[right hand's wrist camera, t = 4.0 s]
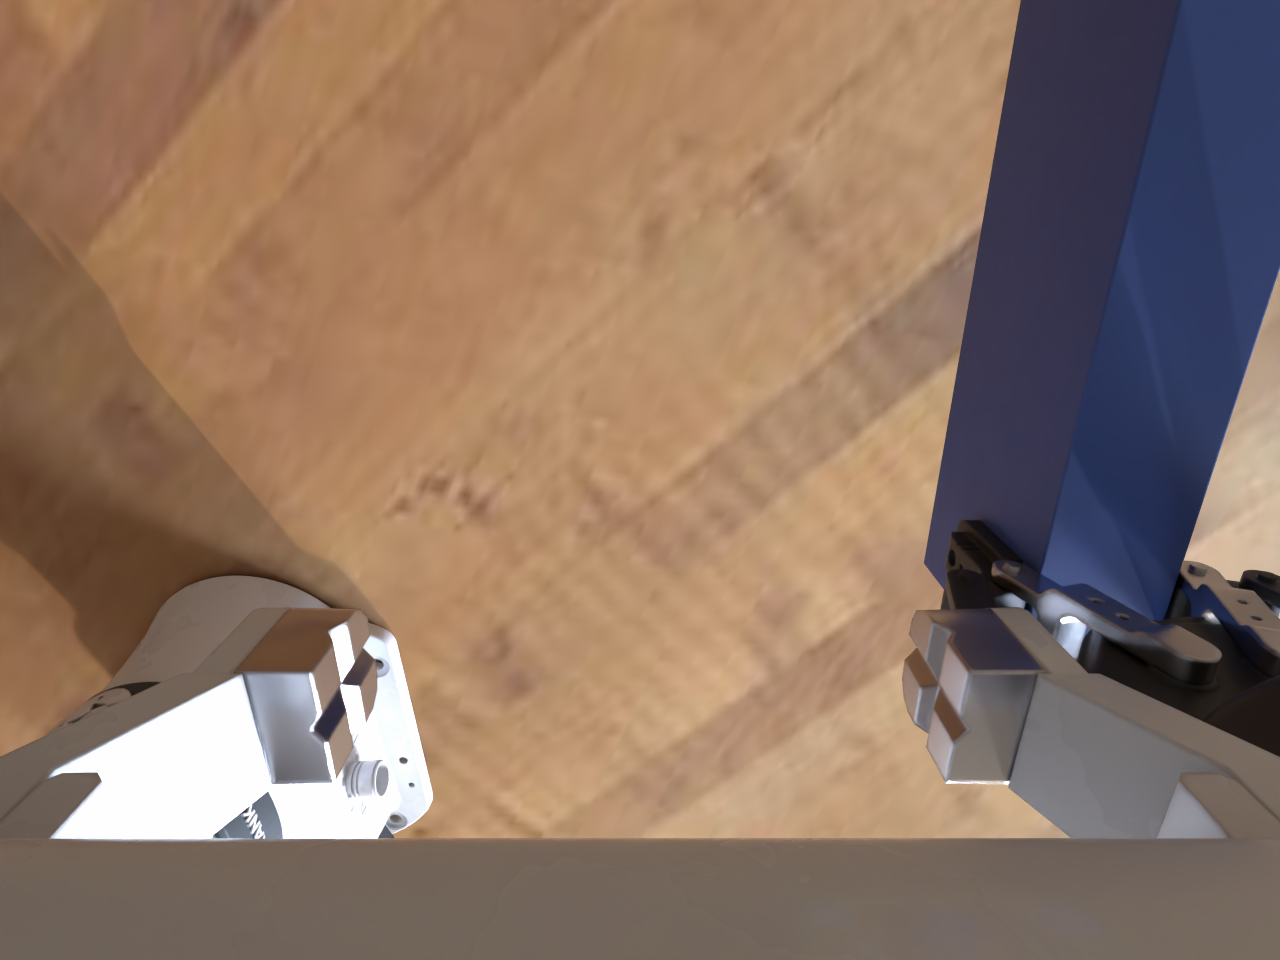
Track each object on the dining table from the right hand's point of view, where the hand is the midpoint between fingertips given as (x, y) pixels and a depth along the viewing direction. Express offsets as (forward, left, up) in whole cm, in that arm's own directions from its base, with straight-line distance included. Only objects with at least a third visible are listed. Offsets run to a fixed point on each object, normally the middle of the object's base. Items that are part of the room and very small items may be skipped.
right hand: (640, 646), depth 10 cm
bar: (-1, -16, -20) cm, 25 cm away
